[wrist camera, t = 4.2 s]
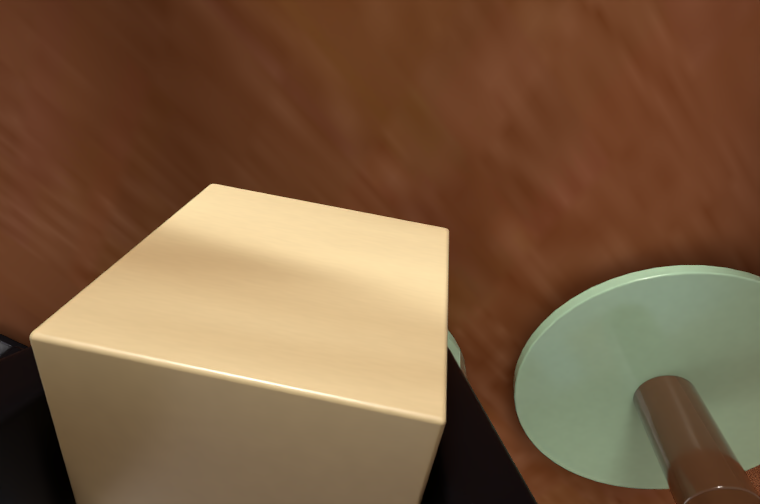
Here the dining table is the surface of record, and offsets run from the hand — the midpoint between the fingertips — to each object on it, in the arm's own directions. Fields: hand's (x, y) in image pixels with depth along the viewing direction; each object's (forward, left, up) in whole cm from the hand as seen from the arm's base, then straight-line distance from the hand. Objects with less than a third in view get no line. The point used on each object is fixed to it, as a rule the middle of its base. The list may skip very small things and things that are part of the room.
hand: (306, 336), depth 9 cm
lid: (-2, -15, -10) cm, 18 cm away
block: (0, 0, -1) cm, 1 cm away
